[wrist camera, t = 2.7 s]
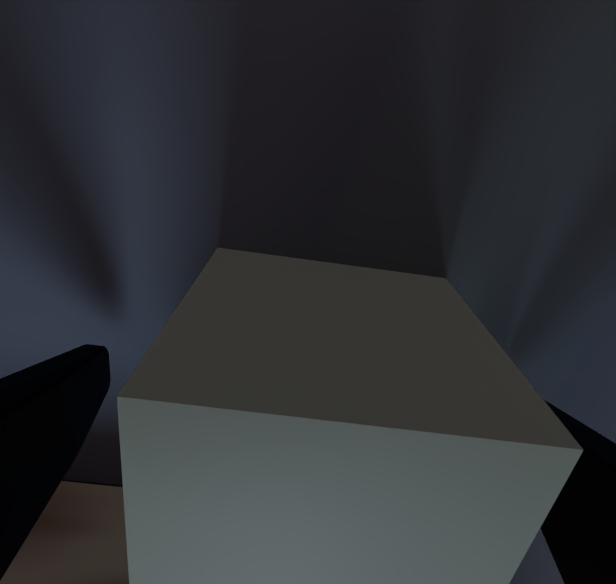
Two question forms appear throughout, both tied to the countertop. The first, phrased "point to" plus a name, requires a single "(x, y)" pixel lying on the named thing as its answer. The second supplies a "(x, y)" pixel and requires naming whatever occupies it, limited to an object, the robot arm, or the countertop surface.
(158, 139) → the countertop surface
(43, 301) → the countertop surface
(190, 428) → the gray cube
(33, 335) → the countertop surface
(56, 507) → the birch base
